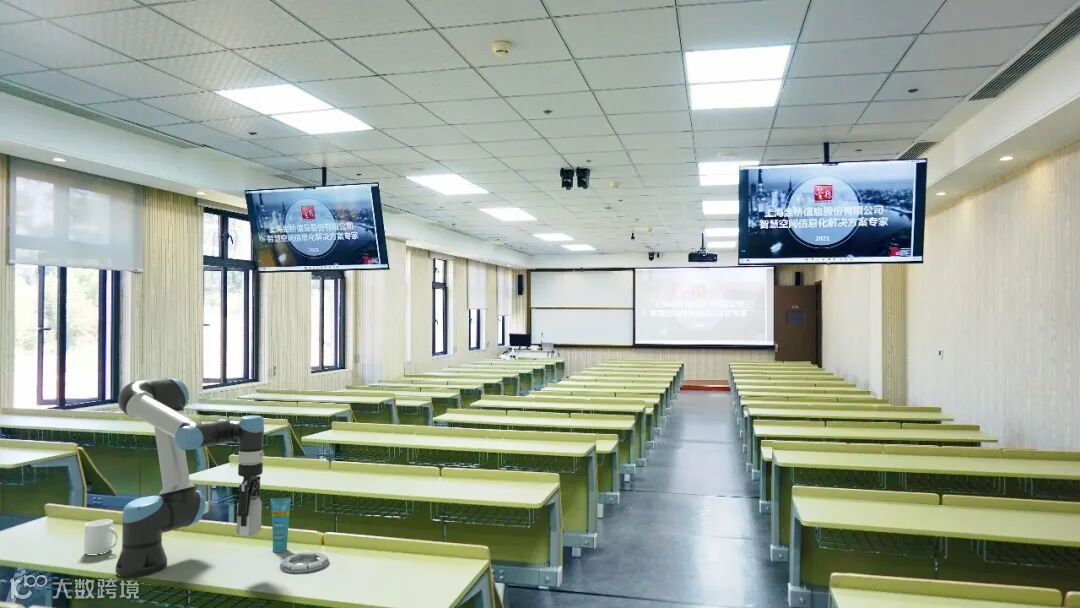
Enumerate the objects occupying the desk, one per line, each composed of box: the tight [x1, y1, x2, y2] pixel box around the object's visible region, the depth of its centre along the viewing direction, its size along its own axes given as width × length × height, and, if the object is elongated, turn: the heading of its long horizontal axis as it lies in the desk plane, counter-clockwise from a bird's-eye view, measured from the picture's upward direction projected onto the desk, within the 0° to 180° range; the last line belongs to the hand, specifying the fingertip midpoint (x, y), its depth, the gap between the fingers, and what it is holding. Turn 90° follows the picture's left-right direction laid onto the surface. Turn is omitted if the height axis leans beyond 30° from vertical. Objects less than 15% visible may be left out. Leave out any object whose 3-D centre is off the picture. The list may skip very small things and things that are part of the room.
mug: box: [83, 518, 118, 554], centre depth 245 cm, size 9×12×11 cm
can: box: [236, 496, 263, 537], centre depth 224 cm, size 8×8×12 cm
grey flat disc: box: [279, 551, 330, 575], centre depth 232 cm, size 16×16×2 cm
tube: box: [270, 497, 292, 553], centre depth 248 cm, size 7×5×19 cm, turn 98°
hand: (248, 531), depth 224 cm, fingers closed on can, 7 cm apart
